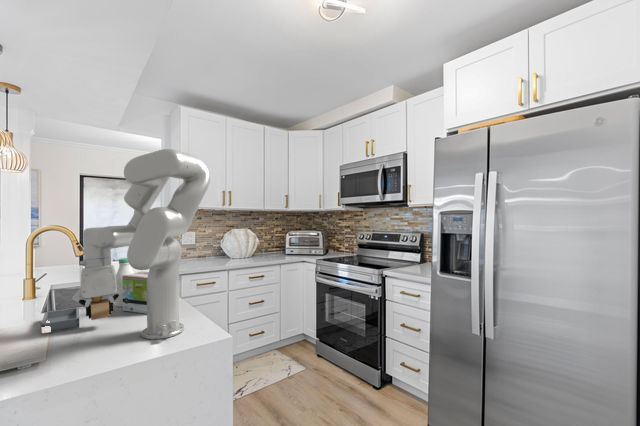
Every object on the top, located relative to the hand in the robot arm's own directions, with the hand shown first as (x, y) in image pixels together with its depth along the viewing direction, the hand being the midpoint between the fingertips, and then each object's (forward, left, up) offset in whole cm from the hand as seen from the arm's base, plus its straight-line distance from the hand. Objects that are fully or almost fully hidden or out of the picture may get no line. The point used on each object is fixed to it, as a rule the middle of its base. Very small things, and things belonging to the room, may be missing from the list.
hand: (100, 315), depth 109 cm
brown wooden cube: (0, 0, -1) cm, 1 cm away
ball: (0, 0, +5) cm, 5 cm away
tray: (+14, +11, -4) cm, 18 cm away
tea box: (+14, -16, -5) cm, 22 cm away
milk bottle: (+28, -10, -5) cm, 30 cm away
